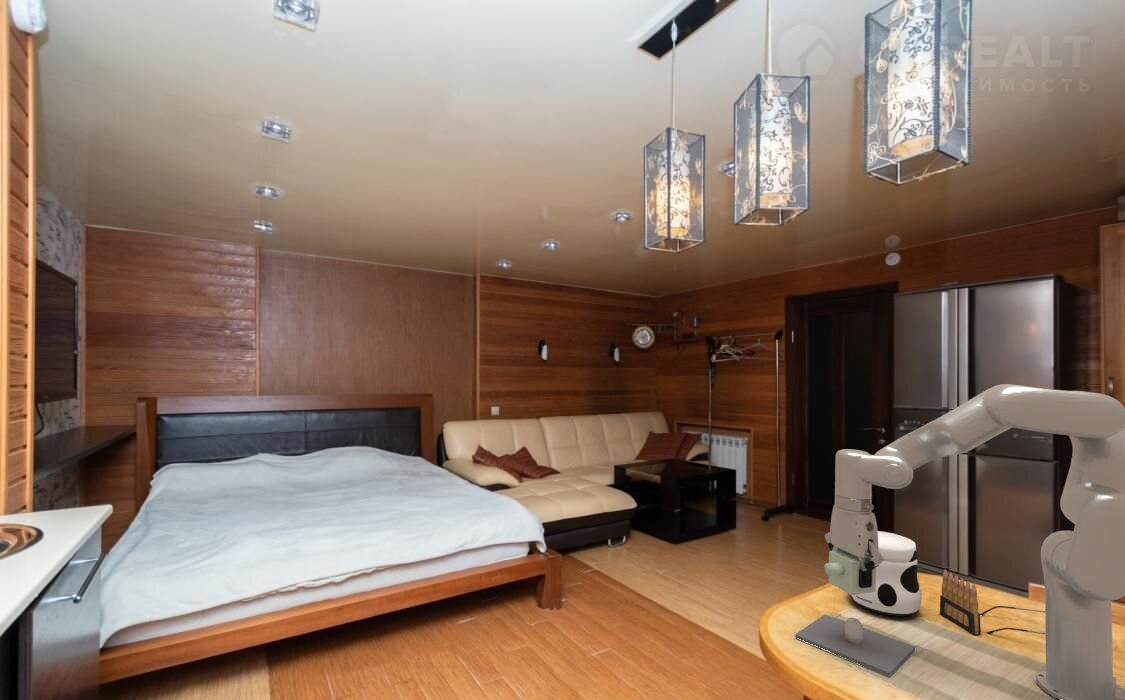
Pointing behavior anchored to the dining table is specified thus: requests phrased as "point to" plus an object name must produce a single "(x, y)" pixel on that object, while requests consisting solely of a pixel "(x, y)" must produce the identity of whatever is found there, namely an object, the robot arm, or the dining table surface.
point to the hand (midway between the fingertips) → (851, 579)
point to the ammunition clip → (960, 603)
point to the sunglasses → (1011, 628)
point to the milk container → (894, 578)
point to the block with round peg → (847, 572)
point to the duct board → (857, 644)
